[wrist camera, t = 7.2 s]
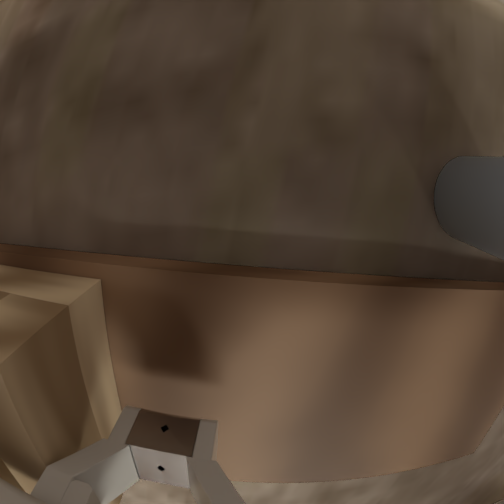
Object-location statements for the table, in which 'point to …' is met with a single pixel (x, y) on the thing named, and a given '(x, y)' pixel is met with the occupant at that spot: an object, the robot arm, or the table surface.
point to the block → (52, 372)
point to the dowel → (473, 202)
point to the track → (301, 360)
